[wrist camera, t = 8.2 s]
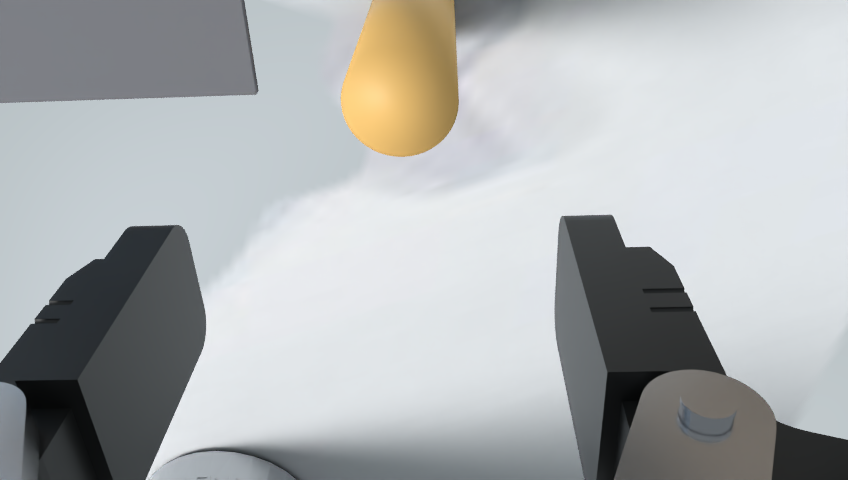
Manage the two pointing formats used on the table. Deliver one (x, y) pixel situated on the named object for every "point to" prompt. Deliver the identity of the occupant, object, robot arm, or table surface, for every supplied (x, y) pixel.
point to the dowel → (403, 77)
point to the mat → (124, 49)
